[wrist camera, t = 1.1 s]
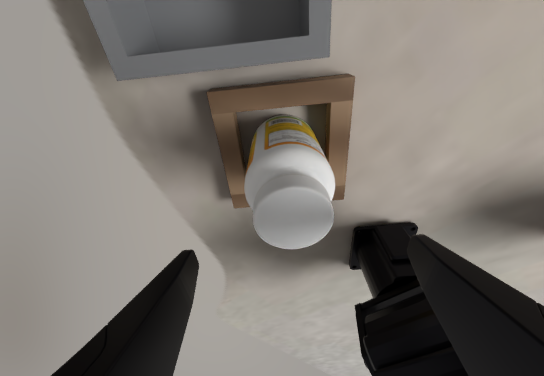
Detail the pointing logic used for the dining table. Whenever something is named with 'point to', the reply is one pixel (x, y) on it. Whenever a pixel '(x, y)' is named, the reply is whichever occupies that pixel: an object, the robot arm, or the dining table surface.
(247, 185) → the supplement bottle
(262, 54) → the bin
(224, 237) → the dining table surface
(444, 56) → the dining table surface
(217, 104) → the socket block
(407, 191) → the dining table surface
